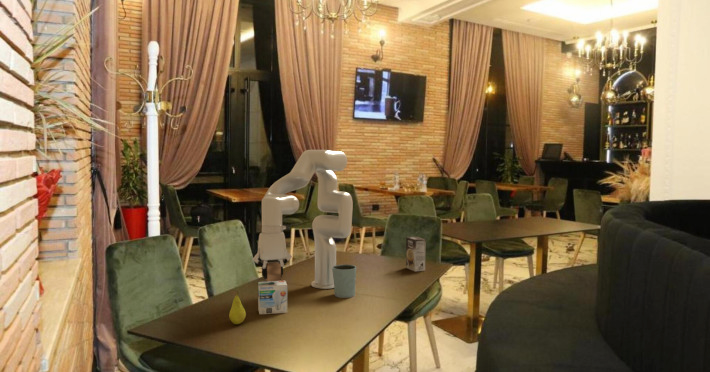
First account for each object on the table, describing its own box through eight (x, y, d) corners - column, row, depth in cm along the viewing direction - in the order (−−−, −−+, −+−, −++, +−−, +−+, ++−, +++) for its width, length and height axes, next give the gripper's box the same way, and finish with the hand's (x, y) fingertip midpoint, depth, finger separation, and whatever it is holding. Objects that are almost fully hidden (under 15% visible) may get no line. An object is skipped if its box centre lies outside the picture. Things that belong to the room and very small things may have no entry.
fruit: (238, 320, 184) (238, 287, 183) (249, 323, 180) (249, 289, 179) (225, 324, 179) (225, 290, 178) (236, 327, 176) (235, 293, 175)
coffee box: (405, 267, 264) (405, 236, 263) (416, 266, 267) (416, 236, 266) (414, 271, 256) (415, 239, 255) (425, 270, 259) (426, 238, 258)
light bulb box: (259, 315, 189) (258, 286, 189) (257, 309, 196) (257, 281, 195) (288, 312, 192) (288, 284, 191) (285, 307, 199) (285, 279, 198)
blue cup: (353, 299, 210) (353, 270, 209) (329, 297, 212) (329, 268, 211) (358, 292, 219) (358, 264, 219) (335, 290, 222) (335, 263, 221)
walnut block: (277, 277, 196) (277, 261, 196) (280, 280, 192) (280, 264, 191) (264, 278, 194) (264, 262, 194) (267, 281, 190) (267, 265, 189)
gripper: (291, 226, 199) (291, 273, 200) (247, 229, 192) (247, 277, 193) (297, 229, 192) (297, 277, 193) (251, 232, 185) (252, 282, 186)
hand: (272, 277), depth 193 cm, fingers closed on walnut block, 5 cm apart
